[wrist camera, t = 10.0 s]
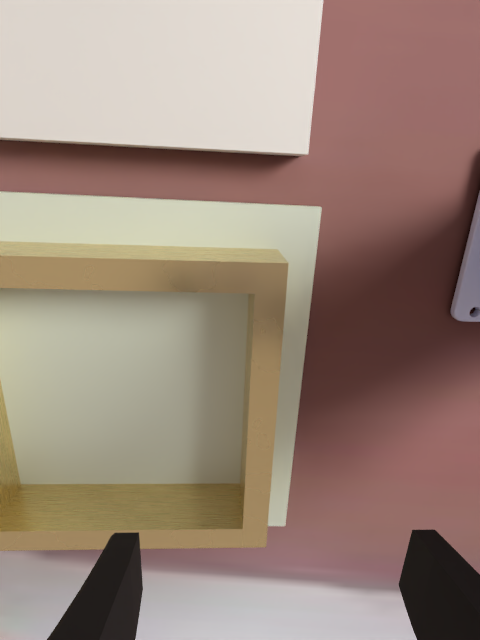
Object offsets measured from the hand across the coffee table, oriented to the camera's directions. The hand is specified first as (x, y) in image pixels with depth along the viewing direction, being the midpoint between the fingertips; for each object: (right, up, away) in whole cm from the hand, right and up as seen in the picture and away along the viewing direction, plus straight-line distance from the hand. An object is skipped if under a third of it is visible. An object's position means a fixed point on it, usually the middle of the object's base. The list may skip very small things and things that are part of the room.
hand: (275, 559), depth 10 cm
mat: (-7, +3, +10) cm, 12 cm away
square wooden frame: (-7, +3, +9) cm, 12 cm away
